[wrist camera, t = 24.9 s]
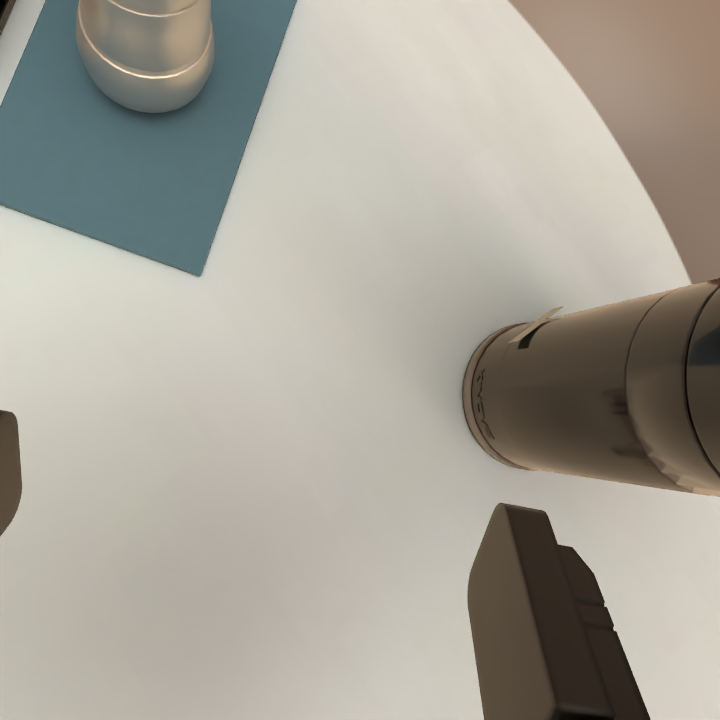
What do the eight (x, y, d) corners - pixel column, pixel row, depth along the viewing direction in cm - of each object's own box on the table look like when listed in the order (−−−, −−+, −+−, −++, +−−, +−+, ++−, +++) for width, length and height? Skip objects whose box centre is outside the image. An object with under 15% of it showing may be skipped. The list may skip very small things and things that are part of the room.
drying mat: (105, -128, 35) (104, -137, 34) (305, -24, 38) (307, -31, 38) (-33, 193, 31) (-36, 189, 31) (200, 277, 35) (200, 274, 34)
